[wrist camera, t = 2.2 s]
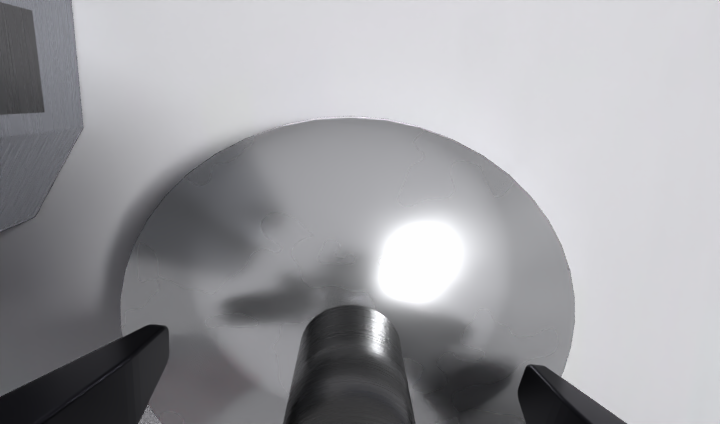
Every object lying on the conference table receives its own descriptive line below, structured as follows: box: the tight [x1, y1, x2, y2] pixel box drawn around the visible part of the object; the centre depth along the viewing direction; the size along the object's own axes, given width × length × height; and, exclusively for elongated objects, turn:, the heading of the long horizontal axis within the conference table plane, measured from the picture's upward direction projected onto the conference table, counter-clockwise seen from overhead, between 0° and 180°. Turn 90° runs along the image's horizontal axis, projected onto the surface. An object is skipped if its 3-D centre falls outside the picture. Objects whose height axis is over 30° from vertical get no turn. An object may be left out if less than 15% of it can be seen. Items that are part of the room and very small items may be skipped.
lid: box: [120, 116, 575, 424], centre depth 8 cm, size 12×12×6 cm
